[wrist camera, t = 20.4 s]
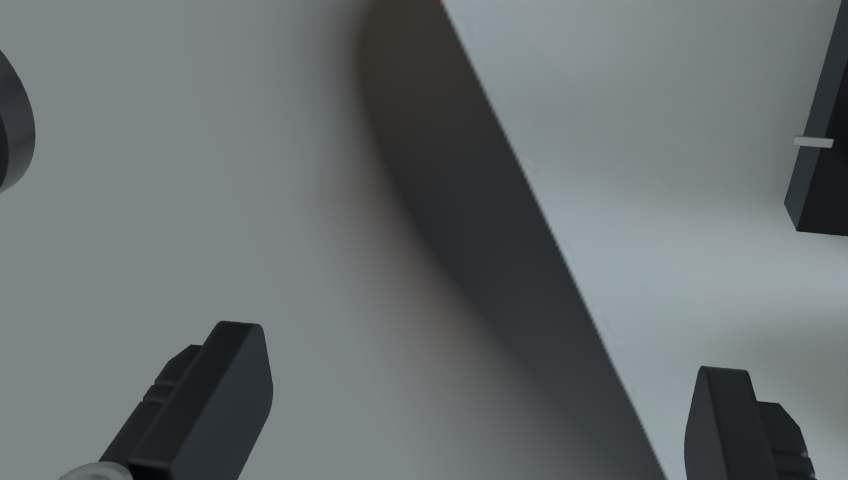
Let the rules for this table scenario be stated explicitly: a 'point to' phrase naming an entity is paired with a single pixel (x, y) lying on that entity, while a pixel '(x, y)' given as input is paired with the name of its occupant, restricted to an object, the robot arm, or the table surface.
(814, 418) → the table surface
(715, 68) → the table surface
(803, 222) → the hob
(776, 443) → the robot arm
